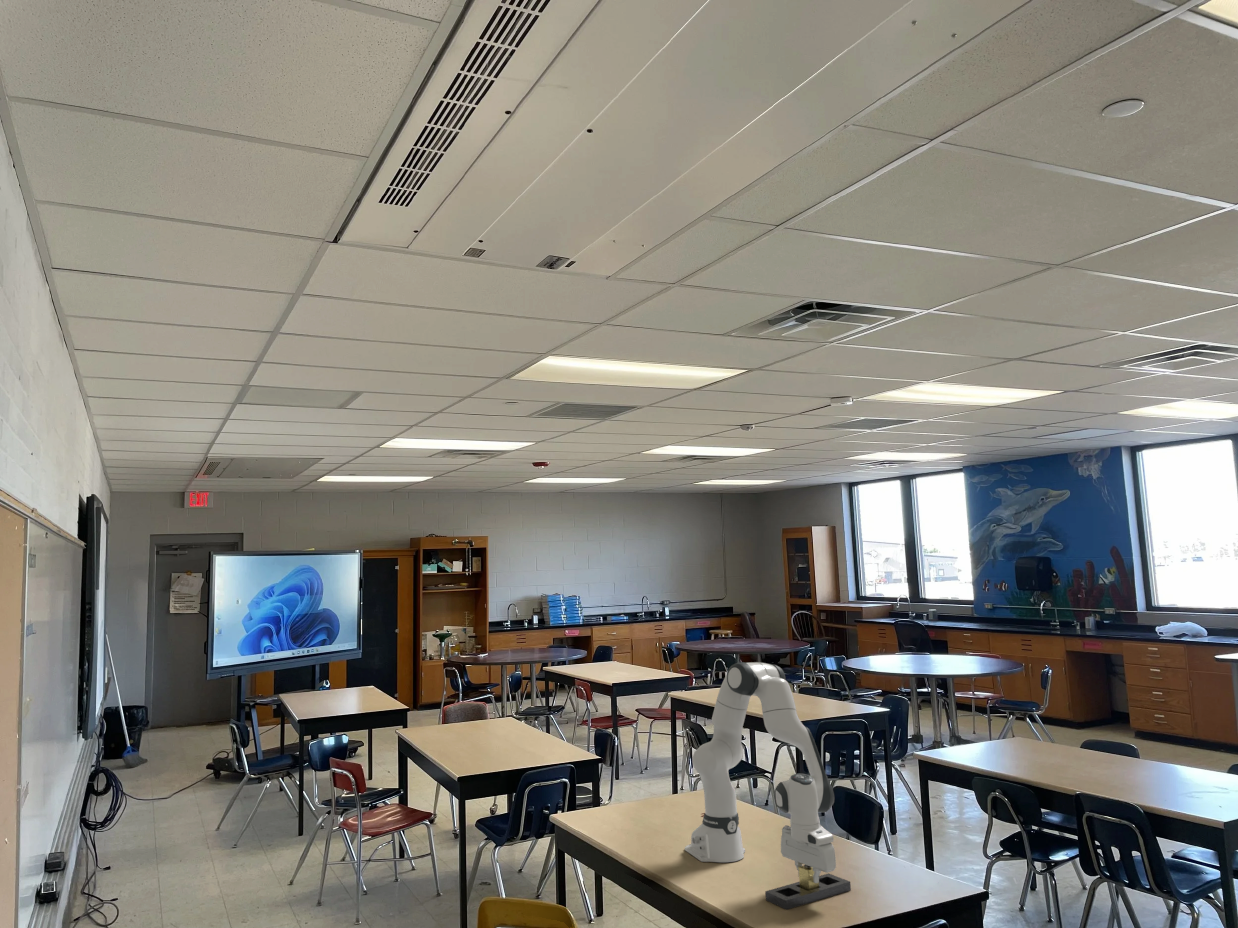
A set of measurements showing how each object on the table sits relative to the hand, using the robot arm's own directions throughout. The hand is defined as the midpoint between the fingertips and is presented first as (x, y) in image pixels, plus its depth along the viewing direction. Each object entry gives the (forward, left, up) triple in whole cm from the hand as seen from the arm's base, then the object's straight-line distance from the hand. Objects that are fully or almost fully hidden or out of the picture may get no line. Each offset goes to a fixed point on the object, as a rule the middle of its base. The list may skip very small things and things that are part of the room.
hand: (808, 879), depth 248 cm
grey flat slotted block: (0, 0, -4) cm, 4 cm away
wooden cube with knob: (0, 0, -3) cm, 3 cm away
